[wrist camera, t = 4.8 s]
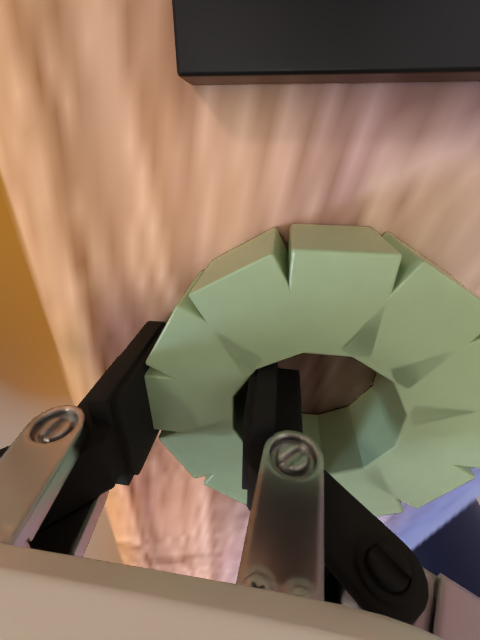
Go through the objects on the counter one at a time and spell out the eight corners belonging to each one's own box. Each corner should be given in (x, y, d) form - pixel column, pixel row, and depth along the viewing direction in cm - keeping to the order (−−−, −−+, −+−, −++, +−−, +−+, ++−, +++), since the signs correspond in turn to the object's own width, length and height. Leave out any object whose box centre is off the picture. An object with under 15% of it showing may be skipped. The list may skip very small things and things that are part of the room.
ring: (525, 231, 8) (622, 265, 6) (413, 469, 13) (440, 539, 10) (159, 217, 9) (116, 240, 7) (185, 441, 14) (165, 498, 11)
